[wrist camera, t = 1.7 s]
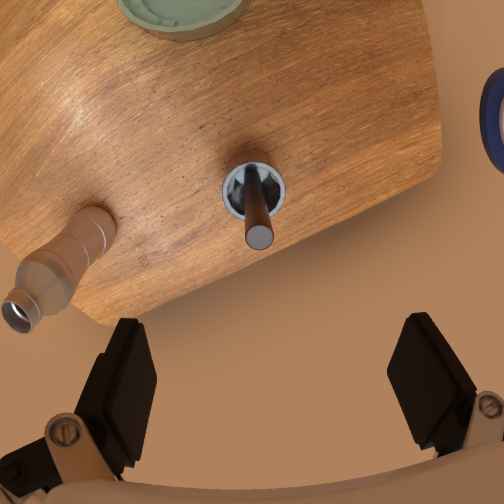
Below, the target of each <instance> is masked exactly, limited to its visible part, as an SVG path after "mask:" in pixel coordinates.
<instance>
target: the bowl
mask: <svg viewBox="0 0 504 504" xmlns="http://www.w3.org/2000/svg"><path fill="white" fill-rule="evenodd" d="M250 1H251V0H117V3H118V6H119V8H120V10H121V11H122V12H123V13H124V14H125V15H126V16H127V17H128V19H129V20H130V21H132V22H133V23H135V24H136V25H138V26H139V27H141V28H142V29H144V30H146V31H148V32H150V33H151V34H153V35H155V36H157V37H159V38H164V39H169V40H174V41H186V40H198V39H201V38H204V37H207V36H210V35H213V34H216V33H219V32H220V31H222V30H223V29H225V28H227V27H228V26H230V25H231V24H233V23H234V22H236V21H237V20H238V18H239V17H240V16H241V15H242V14H243V13H244V12H245V11H246V9H247V8H248V6H249V4H250Z"/></svg>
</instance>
